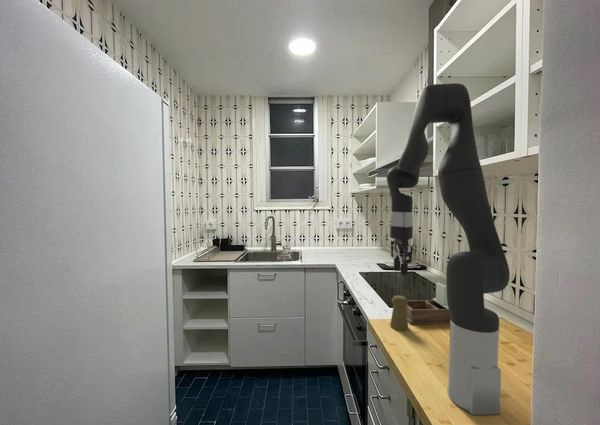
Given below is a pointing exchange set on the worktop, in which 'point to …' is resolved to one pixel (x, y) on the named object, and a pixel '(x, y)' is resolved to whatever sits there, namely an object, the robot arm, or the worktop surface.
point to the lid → (441, 295)
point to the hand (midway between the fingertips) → (400, 272)
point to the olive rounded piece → (399, 313)
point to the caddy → (426, 312)
